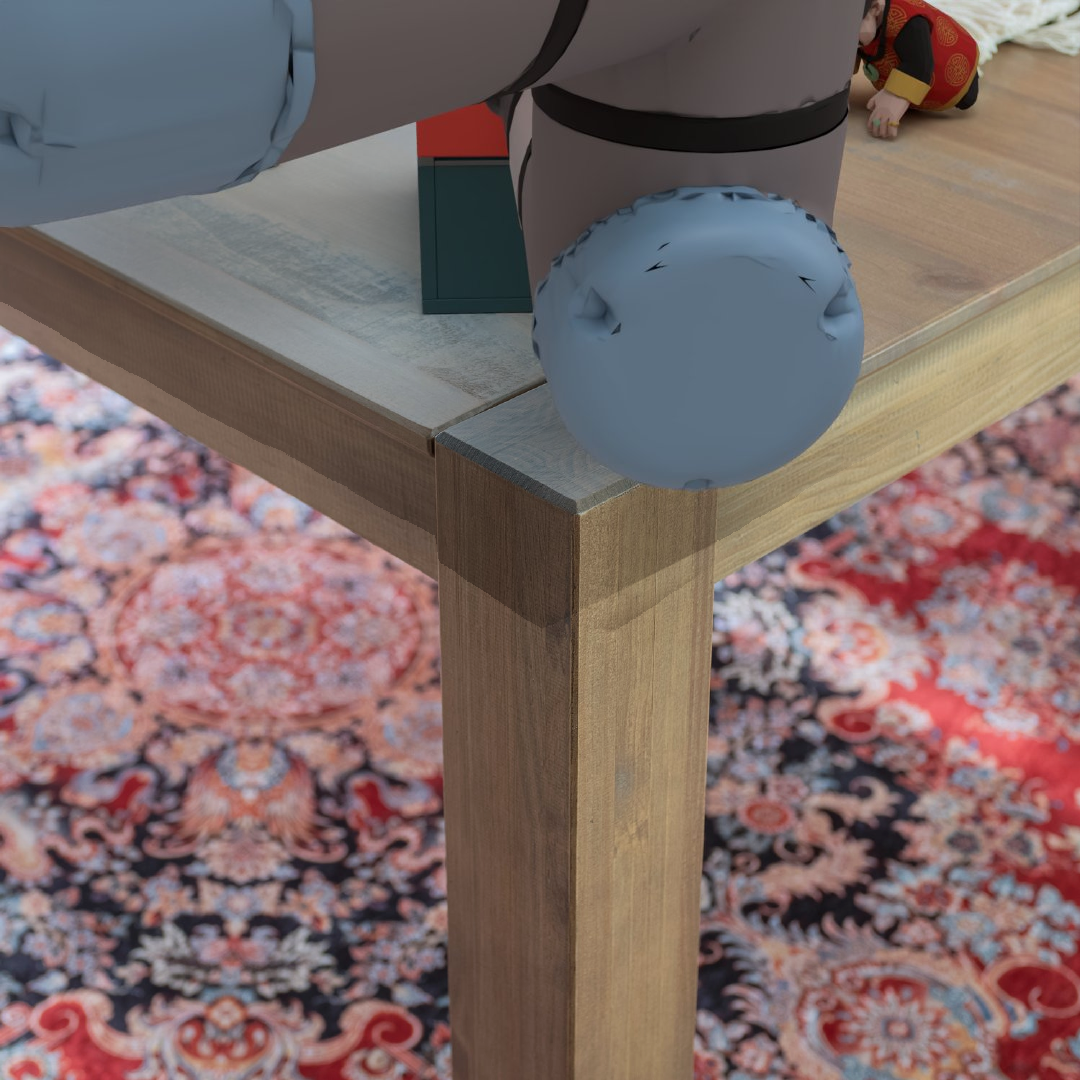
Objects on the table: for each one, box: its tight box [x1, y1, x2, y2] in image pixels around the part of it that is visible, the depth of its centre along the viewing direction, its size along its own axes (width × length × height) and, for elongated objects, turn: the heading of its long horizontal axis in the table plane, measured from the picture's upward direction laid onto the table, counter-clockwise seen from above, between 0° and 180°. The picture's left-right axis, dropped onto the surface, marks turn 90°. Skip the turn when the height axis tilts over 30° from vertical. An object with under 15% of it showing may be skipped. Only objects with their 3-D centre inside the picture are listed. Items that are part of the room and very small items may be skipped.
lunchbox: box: [416, 155, 533, 314], centre depth 75 cm, size 17×14×8 cm
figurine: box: [853, 0, 981, 139], centre depth 93 cm, size 10×10×15 cm
